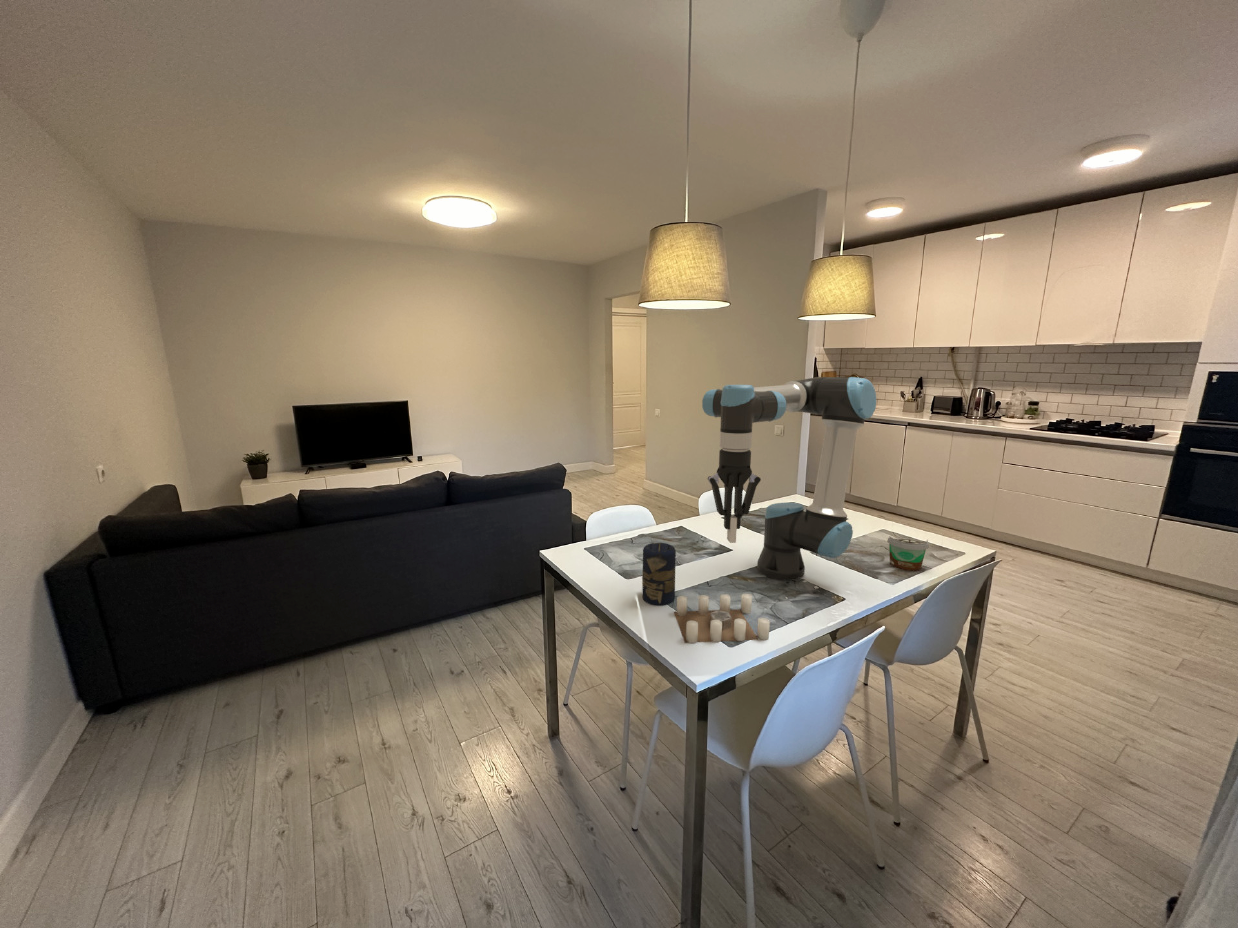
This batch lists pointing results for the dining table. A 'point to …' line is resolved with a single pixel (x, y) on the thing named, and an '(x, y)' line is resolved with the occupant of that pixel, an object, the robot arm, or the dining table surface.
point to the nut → (721, 618)
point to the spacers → (717, 624)
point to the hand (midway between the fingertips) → (731, 540)
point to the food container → (907, 553)
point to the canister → (658, 574)
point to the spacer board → (705, 626)
